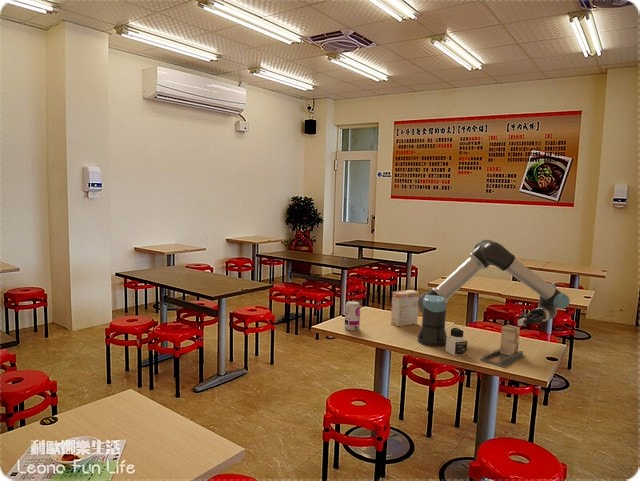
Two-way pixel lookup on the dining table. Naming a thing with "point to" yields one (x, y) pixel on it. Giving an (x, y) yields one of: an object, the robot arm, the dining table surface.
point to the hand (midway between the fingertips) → (519, 323)
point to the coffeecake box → (404, 307)
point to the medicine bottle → (456, 342)
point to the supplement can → (352, 315)
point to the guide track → (502, 358)
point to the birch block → (509, 340)
